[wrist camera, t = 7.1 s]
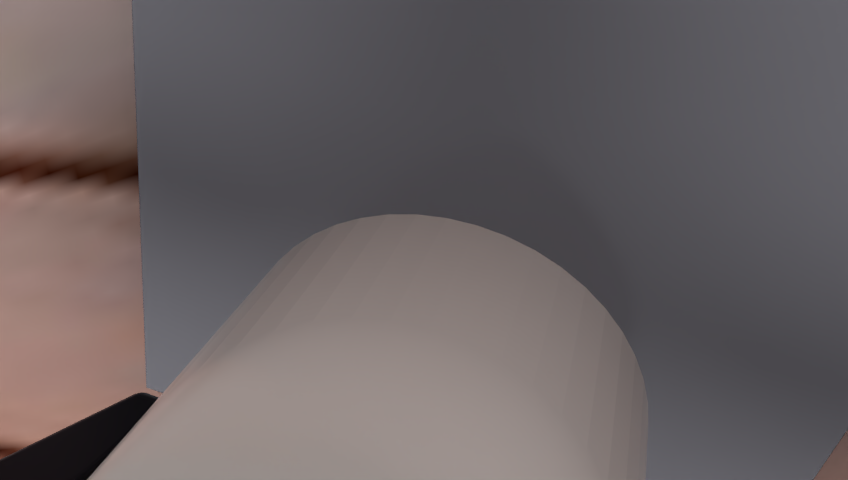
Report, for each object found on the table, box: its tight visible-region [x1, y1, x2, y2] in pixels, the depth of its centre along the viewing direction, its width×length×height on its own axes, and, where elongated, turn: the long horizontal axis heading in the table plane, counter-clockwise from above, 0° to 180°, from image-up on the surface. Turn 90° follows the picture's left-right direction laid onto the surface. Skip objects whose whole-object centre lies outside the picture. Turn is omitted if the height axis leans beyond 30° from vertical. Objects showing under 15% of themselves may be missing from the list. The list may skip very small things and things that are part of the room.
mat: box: [132, 0, 848, 480], centre depth 14 cm, size 14×12×1 cm
